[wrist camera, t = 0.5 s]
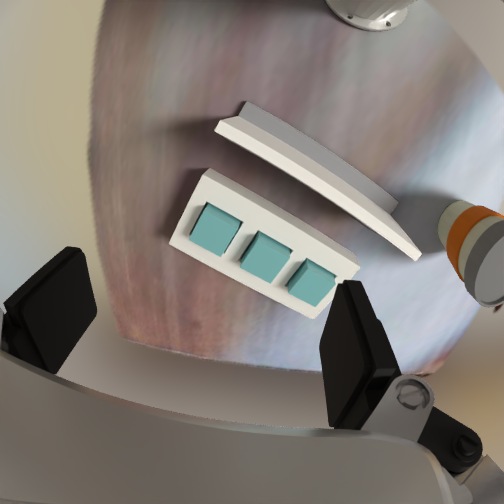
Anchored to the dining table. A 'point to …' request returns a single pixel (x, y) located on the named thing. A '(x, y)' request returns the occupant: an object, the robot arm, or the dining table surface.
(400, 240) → the pattern sign
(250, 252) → the button
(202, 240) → the button
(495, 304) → the reusable coffee cup
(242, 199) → the button board
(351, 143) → the dining table surface
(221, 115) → the dining table surface
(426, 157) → the dining table surface
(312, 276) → the button
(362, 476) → the robot arm
